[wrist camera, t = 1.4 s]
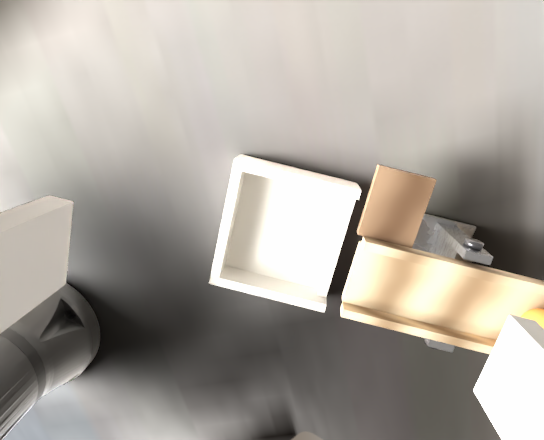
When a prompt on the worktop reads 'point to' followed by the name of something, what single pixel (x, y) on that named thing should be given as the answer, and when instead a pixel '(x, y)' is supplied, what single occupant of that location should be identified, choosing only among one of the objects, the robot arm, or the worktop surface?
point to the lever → (425, 274)
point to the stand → (449, 249)
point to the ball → (535, 316)
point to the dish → (282, 232)
